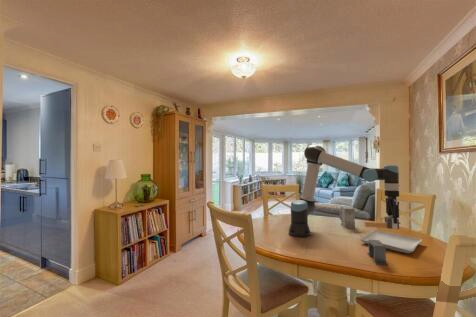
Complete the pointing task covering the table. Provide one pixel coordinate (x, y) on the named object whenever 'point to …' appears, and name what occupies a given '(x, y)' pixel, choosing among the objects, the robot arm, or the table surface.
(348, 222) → the circuit breaker
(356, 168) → the robot arm
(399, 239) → the square plate
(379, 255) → the housing
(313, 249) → the table surface
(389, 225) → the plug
